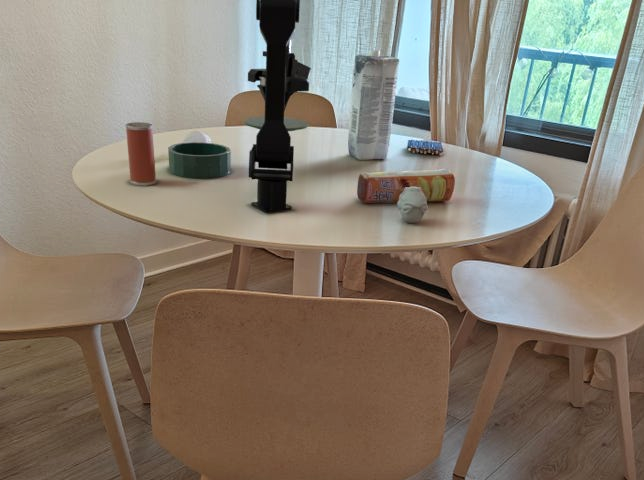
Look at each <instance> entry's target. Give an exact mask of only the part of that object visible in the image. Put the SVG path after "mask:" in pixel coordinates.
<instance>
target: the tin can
mask: <svg viewBox="0 0 644 480" xmlns="http://www.w3.org/2000/svg"><path fill="white" fill-rule="evenodd" d="M153 127H154V125H153V124H152V123H149V122H143V121H142V122H141V121H140V122H139V121H136V122H128V123H125V130H126V131H125V133H126V142H127V143H126V144H127V154H128V157H127V158H128V166H129V168H128V169H129V182H130V184H131V185H134V186H142V187H143V186H145V187H146V186H152V185H155V184H156V183H157V179H156V177H157V176H156V162H155V146H154V145H155V144H154V129H153Z"/></svg>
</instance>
